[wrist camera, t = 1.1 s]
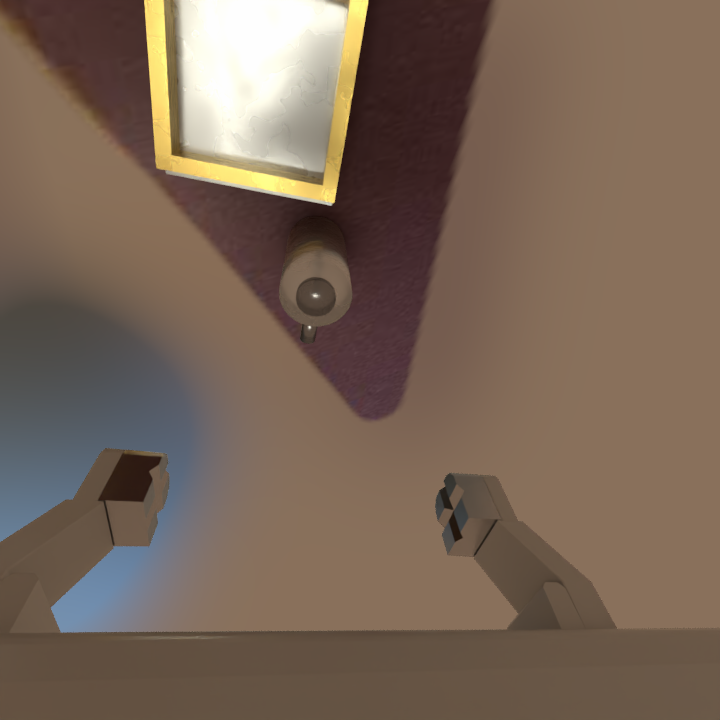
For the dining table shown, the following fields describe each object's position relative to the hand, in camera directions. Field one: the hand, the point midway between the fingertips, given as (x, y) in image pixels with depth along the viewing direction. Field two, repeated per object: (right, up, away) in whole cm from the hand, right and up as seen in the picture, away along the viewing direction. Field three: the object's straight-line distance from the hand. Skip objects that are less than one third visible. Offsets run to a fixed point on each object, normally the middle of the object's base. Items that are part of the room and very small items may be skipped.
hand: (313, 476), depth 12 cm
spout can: (-3, +13, +26) cm, 29 cm away
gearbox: (-5, +27, +15) cm, 31 cm away
